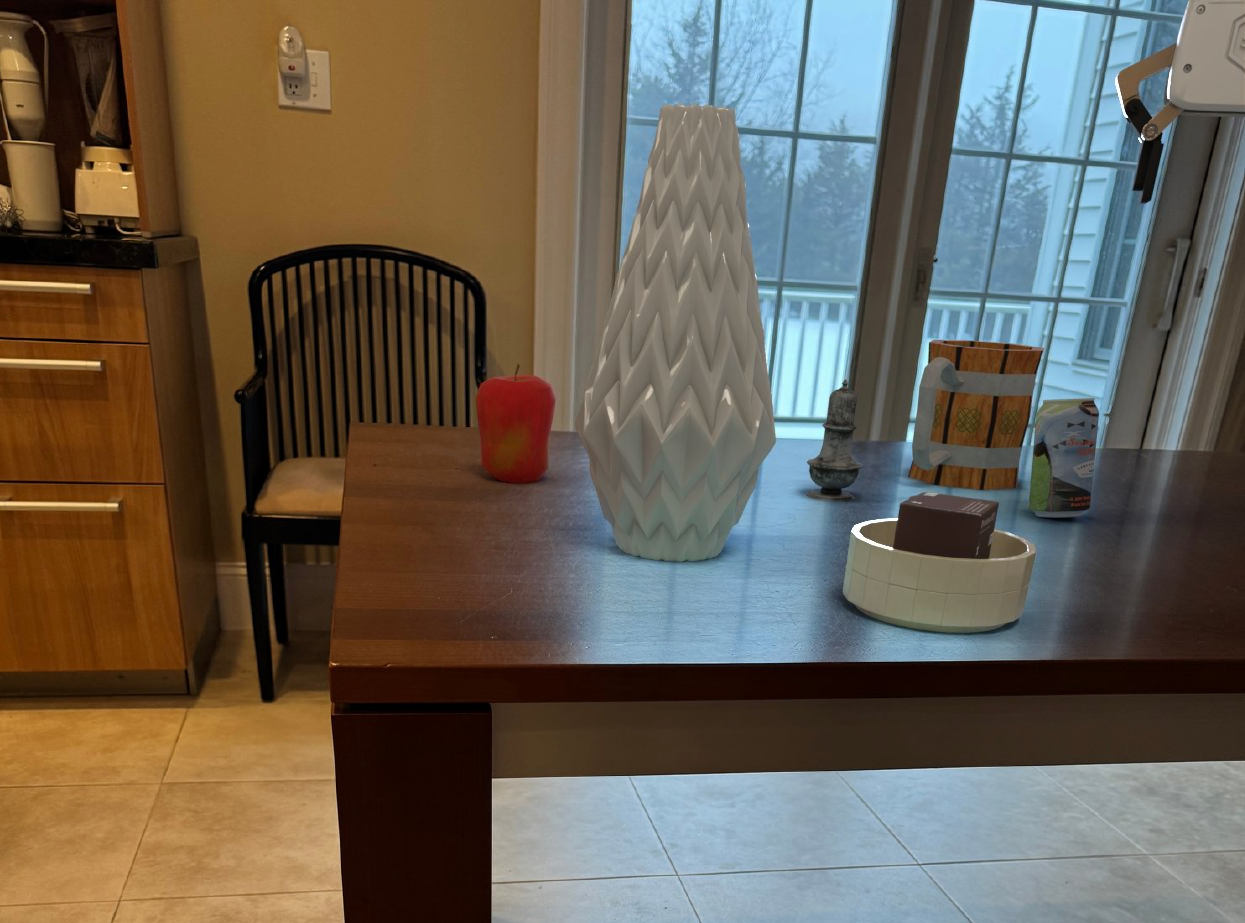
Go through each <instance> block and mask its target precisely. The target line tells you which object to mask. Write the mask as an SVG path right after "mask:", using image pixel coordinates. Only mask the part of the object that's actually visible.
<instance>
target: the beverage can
mask: <svg viewBox="0 0 1245 923" xmlns="http://www.w3.org/2000/svg"><path fill="white" fill-rule="evenodd" d="M1099 419H1100V410H1099V408H1098V406H1097V404H1096V403H1095V397H1083V398H1082V397H1081V398H1080V397H1079V398H1058V399H1057V398H1056V399H1054V398H1053V399H1042V404H1041V406H1040V407H1039V409H1038V410H1037V412H1036V414H1035V424H1034V435H1033V436H1034V437H1033V446H1032V447H1033V448H1032V457H1031V458H1032V461H1031V473H1030V482H1029V484H1030V485H1029V497H1028V510H1029V511H1032V512H1034V515H1035V517H1040V518H1075V517H1081V516H1082V515H1083V513H1084V512H1086V511H1088V510H1090V508H1091V500H1092V493H1093V492H1092V491H1093V481H1094V472H1095V471H1094V470H1095V461H1096V460H1095V459H1096V449H1097V439H1098V429H1099Z"/></svg>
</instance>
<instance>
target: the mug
mask: <svg viewBox="0 0 1245 923" xmlns="http://www.w3.org/2000/svg"><path fill="white" fill-rule="evenodd" d="M1044 351H1045V347H1041V346H1033V345H1025V344H1018V343H1009V342H997V341H996V342H995V341H984V340H983V341H982V340H970V339H969V340H967V339H933V340H931V341H929V342H928V353H927V355H928V356H927V365H925V367H924V368H923V372H922V376H921V379H920V383H919V385H918V386H919V387H918V395H917V404H916V405H917V406H916V408H917V409H916V415H915V421H914V426H913V428H914V429H913V436H912V444H911V452H912V461H911V463H910V468H909V472H908V475H907V477H908V478H910V479H914V480H917V481H920V482H923V483H927V484H930V485H933V486H938V487H939V486H940V487H948V488H957V489H967V490H976V491H977V490H978V491H991V490H995V491H996V490H1012V489H1016V488H1017V486H1018V483H1019V473H1020V472H1019V471H1020V461H1021V460H1020V459H1021V456H1022V450H1023V445H1024V440H1025V437H1026V435H1027V434H1026V433H1027V431H1028V426H1029V423H1030V419H1031V413H1032V406H1033V405H1032V404H1033V395H1034V389H1035V384H1036V380H1037V375H1038V370H1039V367H1040V365H1041V364H1040V363H1041V360H1042V357H1043V354H1044Z"/></svg>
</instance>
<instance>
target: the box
mask: <svg viewBox="0 0 1245 923" xmlns="http://www.w3.org/2000/svg"><path fill="white" fill-rule="evenodd" d="M999 506H1000V502H999V501H997V500H990V499H989V500H988V499H982V498H973V497H966V496H958V495H952V494H944V493H938V492H937V493H936V492H925V491H924V492H921V493H918V494H916V495H911V496H909V497H908V499H906V500H904V501H902V502H900V503H899V508H898V514H897V518H896V519H897V525H896V531H895V538H894V544H893V548H894V549H897V550H902V551H907V552H912V553H918V554H923V555H932V556H940V557H949V558H966V559H989V555H990V550H991V544H992V539H993V533H994V529H996V522H997V515H998V510H999Z"/></svg>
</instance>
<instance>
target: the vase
mask: <svg viewBox="0 0 1245 923" xmlns="http://www.w3.org/2000/svg"><path fill="white" fill-rule="evenodd" d="M657 120H658V121H657V126H656V133H655V135H654V136H655V137H654V141H653V144H652V147H651V150H650V153H649V156H648V160H647V166H646V169H645V171H644V175H643V178H642V179H643V180H642V185H641V190H640V196H639V200H638V203H637V207H636V212H635V216H634V217H633V220H632V224H631V229H630V233H629V236H628V239H627V242H626V246H625V249H624V252H623V254H622V257H621V262H620V266H619V268H618V271H617V274H616V278H615V283H614V287H613V291H612V295H611V299H610V303H609V307H608V310H607V311H606V312H607V313H606V316H605V319H604V324H603V327H602V336H601V338H600V340H599V341H600V342H599V344H598V347H597V350H596V353H595V356H594V359H593V361H592V365H591V367H590V371H589V373H588V376H587V379H586V382H585V383H586V384H585V387H584V394H583V396H582V399H581V402H580V405H579V408H578V412H577V415H576V418H575V425H574V426H575V431H576V432H577V435H578V437H579V439H580V442H581V443H582V445H583V447H584V450H585V452H586V454H587V456H588V460H589V475H590V478H591V481H592V483H593V486H594V489H595V493H596V495H597V496H596V497H597V499H598V502H599V506H600V508H601V512H602V516H603V519H604V520H605V521H607V522H608V523H609V524H610V527H611V532H612V535H613V538H614V540H615V544H616V546H617V547H618V548H619V549H620V551H622V552H624V553H625V554H627V555H631V556H633V557H640V558H641V559H646V560H647V559H648V560H653V561H664V562H678V563H682V562H697V561H705V560H711V559H713V558H716V557H718V556H719V555H720V554H721V553H722V551H723V549H724V547H725V545H726V542H727V539H728V538H729V536H730V533H731V530H732V529H733V527H734V526H736V525H737V524H739V522H740V521H741V518H742V515H743V514H744V511H745V510H746V506H747V504H748V502H749V500H750V499H751V496H752V494H753V492H754V491H755V489H756V486H757V482H758V476H759V469H760V468H761V466H762V464H763V462H765V460H766V458H767V457H768V456H769V454H770V453H771V452H772V450H773V448H774V447H775V446H776V443H777V436H776V435H777V434H776V427H775V426H776V425H775V416H774V406H773V393H772V388H771V382H770V376H769V367H768V360H767V359H768V358H767V348H766V343H765V340H766V339H765V338H766V337H765V327H764V324H763V320H762V313H761V306H760V305H761V304H760V296H759V286H758V279H757V274H756V266H755V262H754V254H753V247H752V239H751V233H750V224H749V221H748V212H747V187H746V186H747V185H746V177H745V174H744V171H743V168H742V160H741V159H742V158H741V148H740V147H741V146H740V139H739V137H740V136H739V135H740V134H739V129H738V126H737V123H736V110H735V108H732V107H731V108H730V107H729V108H728V107H727V106H718V107H716V106H714V105H713V104H707V105H703V106H702V105H699V104H696V103H691V104H689V105H685V104H682V103H676V104H674V105H672V104H664V105H661V106H660V109H659V114H658V119H657Z"/></svg>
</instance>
